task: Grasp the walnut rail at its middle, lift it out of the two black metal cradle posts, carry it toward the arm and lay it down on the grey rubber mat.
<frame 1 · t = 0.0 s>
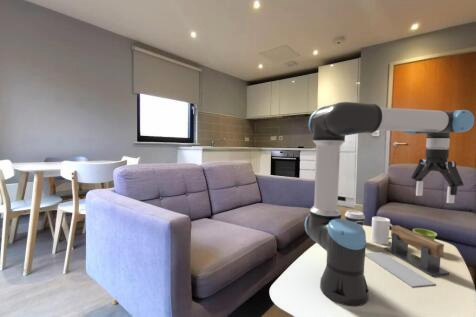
hand: (433, 199, 102), 28 cm above the table, fingers open, 13 cm apart
mat: (394, 267, 99), on the table
coffee cup: (353, 240, 127), on the table
rail: (414, 245, 105), point 7 cm above the table, touching stand
mug: (382, 242, 125), on the table
stand: (413, 261, 105), on the table
plant pot: (423, 249, 118), on the table
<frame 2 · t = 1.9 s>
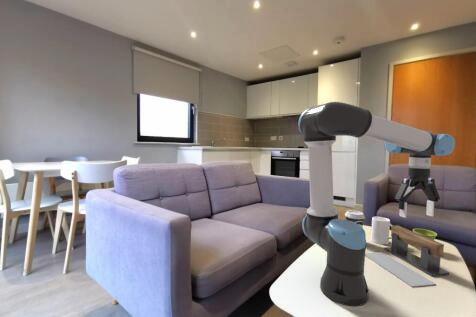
hand: (416, 216, 104), 20 cm above the table, fingers open, 13 cm apart
nothing on the table moved.
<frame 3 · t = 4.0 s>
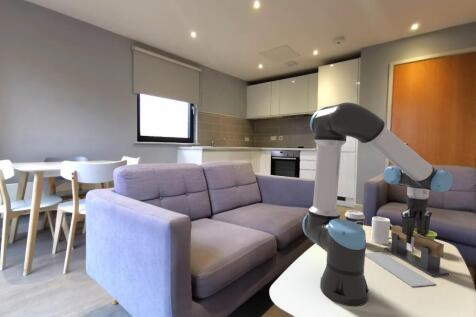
hand: (414, 250, 105), 5 cm above the table, fingers closed on rail, 3 cm apart
rail: (414, 245, 105), point 7 cm above the table, touching gripper, stand
everything else where it was.
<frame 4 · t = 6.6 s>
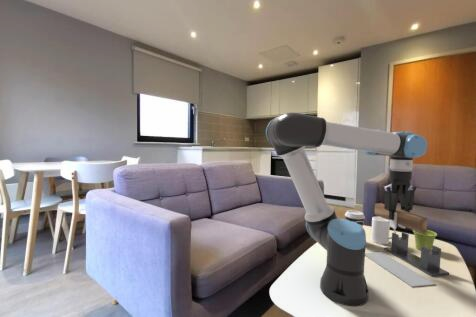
hand: (397, 227, 98), 17 cm above the table, fingers closed on rail, 3 cm apart
rail: (397, 222, 98), point 19 cm above the table, touching gripper
everything else where it was.
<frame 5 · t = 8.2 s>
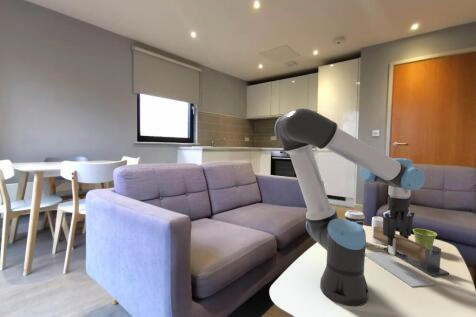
hand: (395, 252, 99), 6 cm above the table, fingers closed on rail, 3 cm apart
rail: (396, 247, 99), point 8 cm above the table, touching gripper
everything else where it was.
when the fingers open (1 cm above the table, at t = 9.5 s): rail drops 3 cm, resting on mat.
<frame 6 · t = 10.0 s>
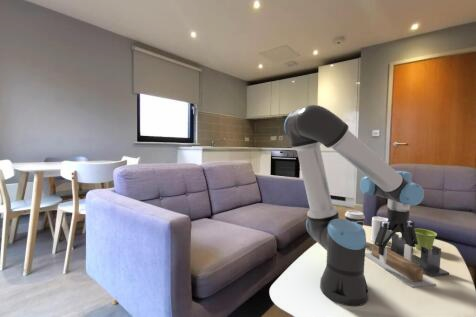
hand: (395, 261, 99), 2 cm above the table, fingers open, 11 cm apart
rail: (394, 266, 99), resting on mat
everything else where it was.
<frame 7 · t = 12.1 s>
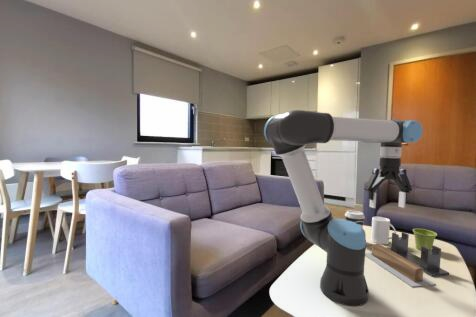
hand: (387, 207, 102), 24 cm above the table, fingers open, 13 cm apart
nothing on the table moved.
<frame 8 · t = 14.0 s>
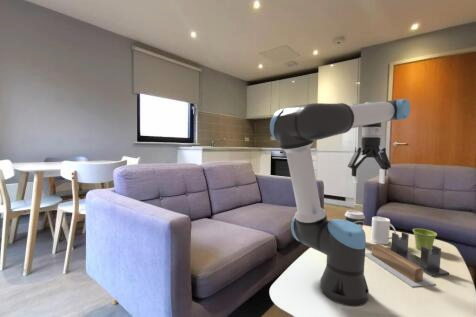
hand: (368, 183, 110), 33 cm above the table, fingers open, 13 cm apart
nothing on the table moved.
at the end: rail inside the target area on the mat (0.2 cm from its centre), point 0.4 cm above the mat's base; rail touching mat; the gripper is holding nothing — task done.
